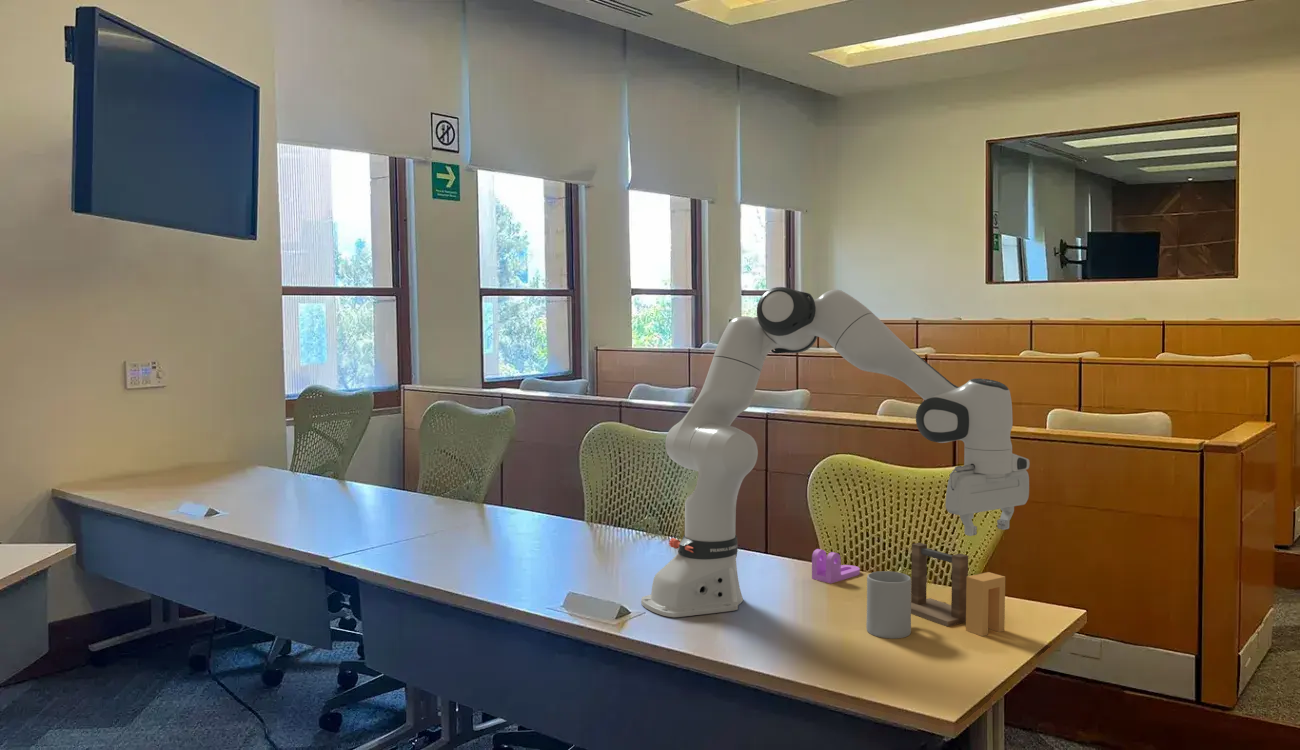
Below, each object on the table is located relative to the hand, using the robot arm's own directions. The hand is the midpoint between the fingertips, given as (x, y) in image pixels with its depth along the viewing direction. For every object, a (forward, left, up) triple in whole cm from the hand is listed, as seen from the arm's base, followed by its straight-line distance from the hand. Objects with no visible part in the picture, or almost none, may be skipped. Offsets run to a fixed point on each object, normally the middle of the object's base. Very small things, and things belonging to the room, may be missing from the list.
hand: (987, 532), depth 186 cm
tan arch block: (0, 0, -20) cm, 20 cm away
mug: (-15, +10, -20) cm, 27 cm away
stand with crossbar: (0, +12, -20) cm, 23 cm away
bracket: (+2, +45, -20) cm, 49 cm away
